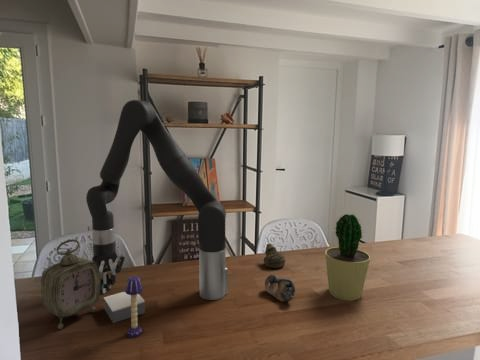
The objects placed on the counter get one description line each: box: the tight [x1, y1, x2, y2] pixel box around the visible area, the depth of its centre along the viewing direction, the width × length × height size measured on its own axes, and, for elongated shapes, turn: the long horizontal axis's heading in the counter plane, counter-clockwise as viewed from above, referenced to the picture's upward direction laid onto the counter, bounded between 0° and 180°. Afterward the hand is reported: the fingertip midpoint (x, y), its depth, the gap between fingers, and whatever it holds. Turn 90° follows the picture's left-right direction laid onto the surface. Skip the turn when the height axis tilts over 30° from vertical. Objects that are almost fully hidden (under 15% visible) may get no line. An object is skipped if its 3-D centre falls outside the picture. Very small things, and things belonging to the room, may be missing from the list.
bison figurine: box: [264, 274, 297, 302], centre depth 116 cm, size 12×7×10 cm
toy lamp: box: [124, 275, 144, 338], centre depth 93 cm, size 5×5×17 cm
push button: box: [101, 265, 112, 294], centre depth 119 cm, size 7×5×10 cm
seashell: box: [263, 243, 286, 269], centre depth 143 cm, size 11×12×10 cm
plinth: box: [103, 291, 146, 324], centre depth 106 cm, size 10×10×4 cm
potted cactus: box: [324, 213, 371, 302], centre depth 118 cm, size 15×15×30 cm
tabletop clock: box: [40, 239, 101, 330], centre depth 100 cm, size 14×9×25 cm, turn 148°
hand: (106, 285), depth 120 cm, fingers closed on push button, 3 cm apart
